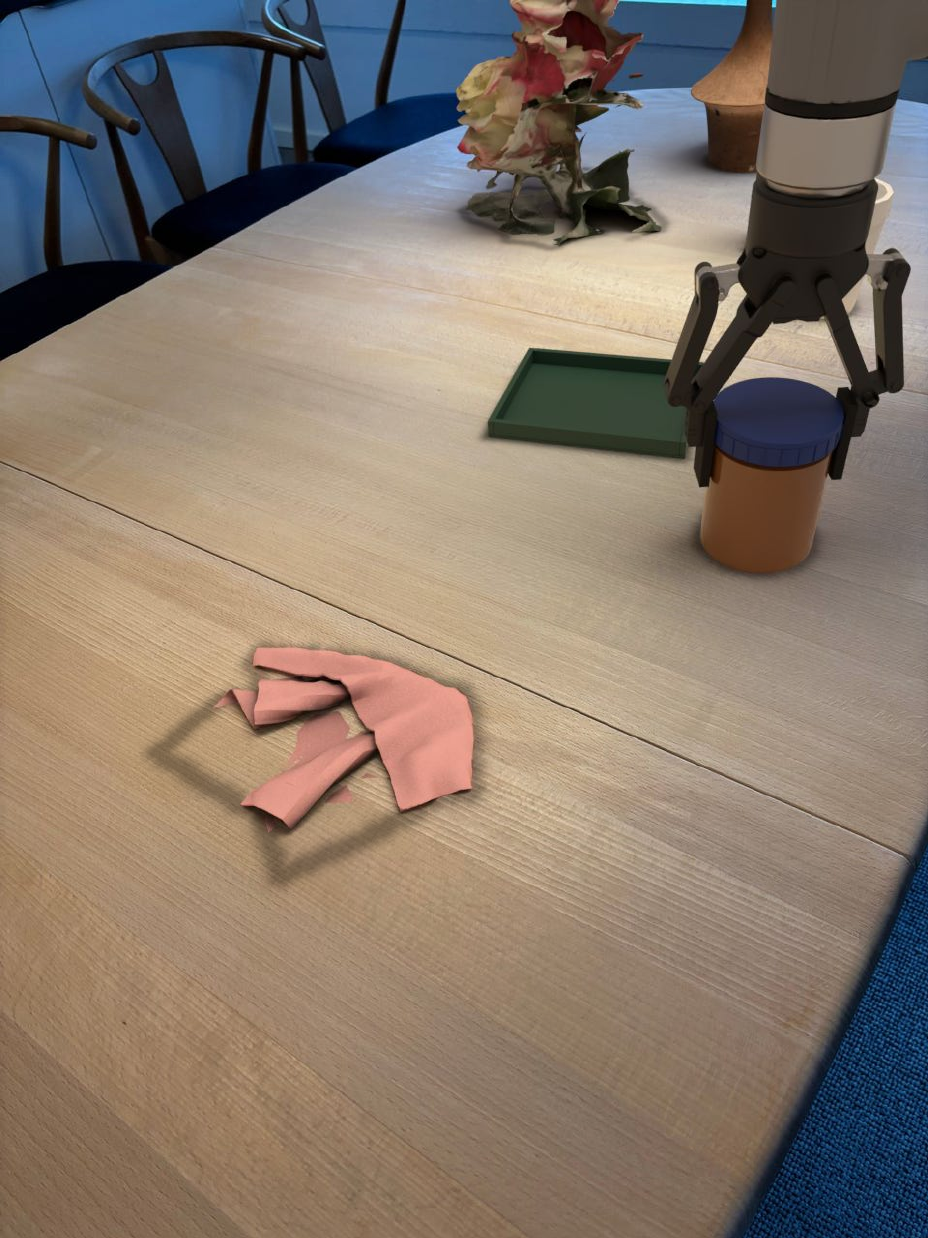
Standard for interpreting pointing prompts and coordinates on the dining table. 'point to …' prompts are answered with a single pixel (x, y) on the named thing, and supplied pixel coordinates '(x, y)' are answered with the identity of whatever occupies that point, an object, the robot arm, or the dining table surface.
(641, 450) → the tray
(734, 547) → the jar
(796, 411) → the jar lid
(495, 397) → the dining table surface
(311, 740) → the cloth
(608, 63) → the rose bouquet
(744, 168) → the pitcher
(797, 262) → the robot arm
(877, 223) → the foam cup
